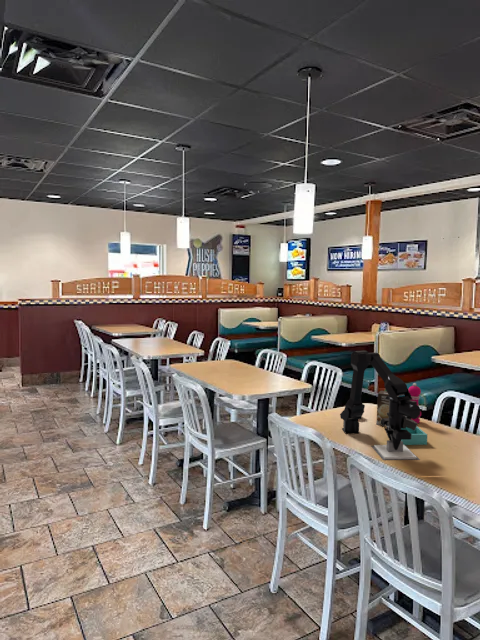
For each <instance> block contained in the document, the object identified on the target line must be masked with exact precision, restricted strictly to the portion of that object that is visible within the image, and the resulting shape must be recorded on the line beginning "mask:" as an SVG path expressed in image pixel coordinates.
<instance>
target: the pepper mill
mask: <svg viewBox="0 0 480 640" xmlns="http://www.w3.org/2000/svg"><path fill="white" fill-rule="evenodd" d="M417 384H418V383H416V382H414V383H412V385H411V386H409V388H408V390H409V393H410V394H411V397H412V400H411V401H416V402H417V405H418V406H419V400H420V397H421V396H420V395H421V394H422V390H421V388H420V387H419V386H418V385H417ZM419 407H420V406H419ZM421 416H422V411H421V412H420V415H419V417H418V418H416V419H412V418H411V419H412V420H413V421H415V422H416V423H418V424H420V422H421V418H420V417H421Z"/></svg>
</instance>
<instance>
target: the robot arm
mask: <svg viewBox="0 0 480 640" xmlns="http://www.w3.org/2000/svg"><path fill="white" fill-rule="evenodd" d="M369 365H370V366H372V367H373V369H374V370H375V372H376V373H377V374H378V376H379V377H380V378H381V379H382V381H383V383H384V388H385V391H387V393H388V394H389V395H388V396H387V397H386V399H388V400H389V413H387V415H388V416H389V418H383V419H382V420H381V425H380V426H382V427H386V428H384V431H385V433H386V435H387V438H388V440H392V443H393V446H394V449H395V450H397V449H398V447H399V444H400V442H401V440H411V436H412V434H411V433H410V432H408V431H407V430H406V427H407V428H410V429H412V430H414V431H415V429H416V427H418V424H419V423H416V422H415V421H413V420H412V419H416V418H418V417H419V415H420V412H421V413H422V411H421V408H420V406H418V405H419V404H418V405H417V402H416V401H411V400H412V397H411V394H410V393H409V390H408V389H409V388H408V385H407V384H406V382H405V381H403V380H402V379H401V378H400V377H398V376H396V375H395V374H394V373H393V371H392V370H391V369H390V367H388V365H387V364H386V363H385V362H384V360H383V359H382V358H381V355H380V354H379V352H369V351H367V350H356V351H355V350H354V351H352V352H351V354H350V366H351V368H352V370H353V371H352V377H351V386H350V393H349V394H350V395H349V399H348V400H347V402H346V403H345V405H344V409H343V410H342V411H341V413H340V414H339V416H340V419H341V420H342V421H343V423H342V425H343V426H342V427H341V429H342V431H343V432H344V434H347V435H348V434H350V435H351V434H360V422H359V420H362V417H363V415H364V413H365V407H366V406H365V404H364V403H363V402H362V393H363V386H364V377H365V371H366V370H367V368H368V367H369ZM397 396H399V397H397ZM411 418H412V419H411ZM419 418H420V417H419ZM385 424H386V426H385ZM401 428H403V429H401Z"/></svg>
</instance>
